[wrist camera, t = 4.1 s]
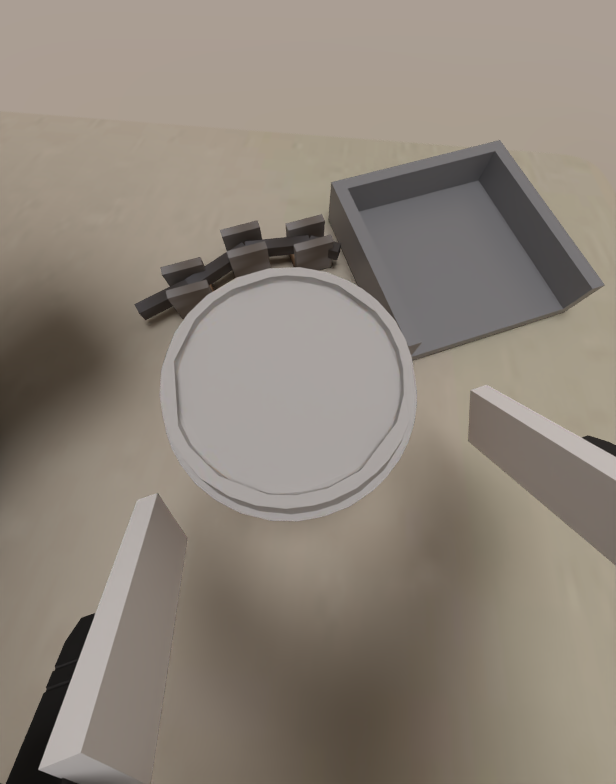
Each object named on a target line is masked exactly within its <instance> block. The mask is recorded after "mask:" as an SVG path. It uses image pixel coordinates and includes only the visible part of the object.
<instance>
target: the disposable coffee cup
mask: <svg viewBox="0 0 616 784" xmlns="http://www.w3.org/2000/svg"><path fill="white" fill-rule="evenodd" d="M160 401H161V407H162V414H163V420H164V423H165V428H166V434H167V436H168V439H169V442H170V445H171V448H172V450H173V452H174V454H175V456H176V457H177V459H178V461H179V463H180V465H181V466H182V467H183V469H184V470H185V471H186V472H187V474H188V475H189V476H190V478H191V479H192V480H193V481H194V483H195V484H196V485H198V486H199V487H200V488H201V489H202V490H204V491H205V492H206V493H207V494H209V495H210V496H211V497H212V498H214V499H215V500H216V501H218V502H220V503H222V504H224V505H226V506H228V507H230V508H231V509H233V510H235V511H237V512H239V513H241V514H246V515H250V516H254V517H258V518H262V519H266V520H270V521H302V520H308V519H313V518H318V517H323V516H326V515H329V514H332V513H334V512H337V511H339V510H342V509H344V508H347V507H349V506H351V505H353V504H354V503H355V502H357V501H358V500H360V499H361V498H363V497H364V496H366V495H367V494H369V493H370V492H372V491H373V490H374V489H375V488H376V487H377V486H378V485H379V484H380V483H381V482H382V481H383V480H384V479H385V478H386V477H387V476H388V475H389V473H390V472H391V470H392V469H393V468H394V466H395V465H396V464H397V462H398V461H399V459H400V458H401V456H402V454H403V452H404V450H405V448H406V445H407V443H408V441H409V438H410V435H411V432H412V429H413V425H414V422H415V414H416V406H417V389H416V380H415V374H414V369H413V362H412V357H411V354H410V351H409V348H408V345H407V342H406V340H405V338H404V336H403V334H402V332H401V330H400V329H399V327H398V325H397V323H396V321H395V320H394V319H393V317H392V316H391V315H390V314H389V313H388V312H387V311H386V310H385V308H384V307H383V306H382V305H381V304H380V303H379V302H378V301H377V300H376V299H375V298H374V297H372V296H371V295H370V294H368V293H367V292H366V291H365V290H363V289H362V288H360V287H359V286H357V285H355V284H353V283H352V282H350V281H348V280H346V279H343V278H340V277H338V276H335V275H333V274H330V273H328V272H323V271H318V270H312V269H307V268H301V267H293V268H269V269H265V270H262V271H258V272H255V273H251V274H248V275H244V276H241V277H237V278H235V279H233V280H232V281H230V282H228V283H227V284H225V285H223V286H221V287H220V288H218V289H216V290H215V291H213V292H211V293H210V294H208V295H207V296H206V297H205V298H204V299H203V300H202V301H200V302H199V303H198V304H197V305H196V306H195V307H194V308H193V309H192V310H191V311H190V312H189V313H188V314H187V316H186V317H185V319H184V320H183V321H182V323H181V324H180V326H179V327H178V329H177V330H176V332H175V333H174V336H173V338H172V340H171V343H170V345H169V348H168V350H167V353H166V356H165V359H164V362H163V366H162V369H161V383H160Z"/></svg>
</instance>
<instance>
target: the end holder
mask: <svg viewBox="0 0 616 784" xmlns="http://www.w3.org/2000/svg"><path fill="white" fill-rule="evenodd" d="M328 220H329V222H330V224H331V226H332V229H333V231H334V233H335V235H336V238H337V240H338V242H339V243H341V249H342V251H343V253H344V255H345V258H346V260H347V262H348V264H349V267H350V269H351V271H352V273H353V276H354V278H355V280H356V282H357V285H358V286H359V287H360V288H362V289H363V290H365V291H366V292H367V293H368V294H370V295H371V296H372V297H374V298H375V299H376V300H377V301H378V302H379V303H380V304H381V305H382V306H383V307H384V308H385V310H386V311H387V312H388V313H389V314H390V315H391V316H392V317H393V319H394V320H395V321H396V323H397V325H398V327H399V329H400V330H401V332H402V334H403V336H404V338H405V340H406V342H407V345H408V348H409V351H410V354H411V357H412V360H415V359H419V358H422V357H425V356H428V355H431V354H434V353H438V352H441V351H444V350H447V349H450V348H453V347H456V346H460V345H463V344H466V343H469V342H472V341H475V340H479V339H482V338H485V337H488V336H491V335H494V334H497V333H501V332H504V331H507V330H510V329H513V328H516V327H519V326H523V325H526V324H529V323H532V322H535V321H538V320H542V319H545V318H548V317H551V316H554V315H557V314H560V313H564V312H565V311H567V310H568V309H570V308H571V307H573V306H574V305H576V304H577V303H579V302H580V301H582V300H583V299H585V298H586V297H588V296H589V295H591V294H592V293H594V292H595V291H597V290H598V289H600V288H601V287H603V286H604V283H603V282H602V280H601V279H600V278H599V276H598V275H597V274H596V272H595V271H594V269H593V268H592V267H591V265H590V264H589V263H588V261H587V260H586V258H585V257H584V256H583V254H582V253H581V251H580V250H579V249H578V247H577V246H576V245H575V243H574V242H573V240H572V239H571V238H570V236H569V235H568V234H567V232H566V231H565V229H564V228H563V227H562V225H561V224H560V222H559V221H558V220H557V218H556V217H555V216H554V214H553V213H552V211H551V210H550V209H549V207H548V206H547V205H546V203H545V202H544V200H543V199H542V198H541V196H540V195H539V193H538V192H537V191H536V189H535V188H534V187H533V185H532V184H531V182H530V181H529V180H528V178H527V177H526V176H525V174H524V173H523V171H522V170H521V169H520V167H519V166H518V164H517V163H516V162H515V160H514V159H513V158H512V156H511V155H510V153H509V152H508V151H507V149H506V148H505V147H504V145H503V144H502V143H501V141H500V140H499V141H495V142H491V143H487V144H483V145H479V146H475V147H471V148H467V149H463V150H459V151H455V152H451V153H447V154H443V155H439V156H435V157H431V158H427V159H423V160H419V161H415V162H411V163H407V164H403V165H399V166H395V167H391V168H387V169H383V170H379V171H375V172H371V173H367V174H363V175H359V176H355V177H351V178H347V179H343V180H339V181H335V182H331V194H330V206H329V219H328Z"/></svg>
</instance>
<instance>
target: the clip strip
mask: <svg viewBox="0 0 616 784" xmlns="http://www.w3.org/2000/svg"><path fill="white" fill-rule="evenodd" d="M324 224H325V220H324V218H323V216H322V214H321V215H317V216H313V217H310V218H306V219H302V220H298V221H294V222H290V223H287V224H286V236H287V237H284V238H274V239H264V240H262V237H261V231H260V226H259V224H258V221H253V222H250V223H246V224H242V225H238V226H234V227H230V228H226V229H222V230H220V232H221V235H222V238H223V241H224V244H225V247H226V250H227V252H226V253H225V254H223V255H222V256H220V257H219V258H217V259H215V260H214V261H212V262H211V263H209V264H208V265H206V266H204V264H203V262H202V260H201V258H200V257H198V258H195V259H191V260H187V261H183V262H179V263H176V264H172V265H168V266H164V267H160V268H161V272H162V276H163V277H164V278H165V280H166V281H167V283H168V284H169V286H170V287H168V288H166V289H164V290H162V291H160V292H158V293H156V294H154V295H152V296H150V297H148V298H146V299H144V300H142V301H140V302H138V303H136V304H134V305H135V306H136V308H137V310H138V312H139V314H140V315H141V316H142V317H143V318H144V319H145V320H147V319H148V318H150V317H152V316H154V315H156V314H158V313H160V312H162V311H164V310H166V309H168V308H170V307H172V306H173V307H174V308H175V309H176V311H177V312H178V313H179V315H180V316H181V317H182V319H185V317H186V316H187V314H188V313H189V312H190V311H191V310H192V309H193V308H194V307H195V306H196V305H197V304H198V303H199V302H200V301H202V300H203V299H204V298H205V297H206V296H207V295H208V294H210V293H211V292H213V291H214V288H213V284H212V283H213V282H215V281H216V280H218V279H219V278H221V277H222V276H224V275H225V274H227V273H228V272H230V271H232V270H233V272H234V275H235V278H237V277H241V276H244V275H248V274H251V273H255V272H258V271H262V270H265V269H269V268H271V267H270V261H269V257H271V256H280V255H290V258H291V260H292V263H293V265H294V267H301V268H307V269H312V270H321V269H325V268H329V267H331V263H332V259H333V260H337V258H338V256H339V253H340V248H341V243H338V242H334V241H333V239H332V236H331V235H327V236H324Z"/></svg>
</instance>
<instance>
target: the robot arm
mask: <svg viewBox="0 0 616 784" xmlns="http://www.w3.org/2000/svg"><path fill="white" fill-rule="evenodd" d="M468 441H469V442H470V443H471V444H472V445H473V446H475V447H476V448H477V449H478V450H479V451H480V452H482V453H483V454H484V455H485V456H486V457H488V458H489V459H490V460H491V461H492V462H494V463H495V464H496V465H497V466H498V467H499V468H501V469H502V470H503V471H504V472H505V473H507V474H508V475H509V476H510V477H511V478H512V479H514V480H515V481H516V482H517V483H518V484H520V485H521V486H522V487H523V488H524V489H526V490H527V491H528V492H529V493H530V494H531V495H533V496H534V497H535V498H536V499H537V500H539V501H540V502H541V503H542V504H543V505H545V506H546V507H547V508H548V509H549V510H550V511H552V512H553V513H554V514H555V515H556V516H558V517H559V518H560V519H561V520H562V521H563V522H565V523H566V524H567V525H568V526H569V527H571V528H572V529H573V530H574V531H575V532H577V533H578V534H579V535H580V536H581V537H582V538H584V539H585V540H586V541H587V542H588V543H590V544H591V545H592V546H593V547H594V548H595V549H597V550H598V551H599V552H600V553H601V554H603V555H604V556H605V557H606V558H607V559H609V560H610V561H611V562H612V563H613V564H614V565H616V445H614V444H612V443H610V442H607V441H604V440H601V439H598V438H595V437H591V436H585V437H582V438H581V437H579V436H577V435H576V434H574V433H572V432H570V431H568V430H567V429H565V428H563V427H561V426H560V425H558V424H556V423H554V422H552V421H551V420H549V419H547V418H545V417H544V416H542V415H540V414H538V413H536V412H535V411H533V410H531V409H529V408H527V407H526V406H524V405H522V404H520V403H519V402H517V401H515V400H513V399H511V398H510V397H508V396H506V395H504V394H502V393H501V392H499V391H497V390H495V389H494V388H492V387H490V386H488V385H484V386H481V387H478V388H475V389H472V390H470V410H469V432H468ZM186 545H187V536H186V535H185V533H184V532H183V530H182V529H181V527H180V526H179V524H178V523H177V521H176V520H175V518H174V517H173V515H172V514H171V512H170V511H169V509H168V508H167V506H166V505H165V503H164V502H163V500H162V499H161V497H160V496H159V494H158V493H156V494H153V495H150V496H147V497H144V498H141V499H138V500H137V502H136V505H135V507H134V510H133V513H132V515H131V518H130V521H129V524H128V526H127V529H126V532H125V535H124V537H123V540H122V543H121V545H120V548H119V551H118V554H117V556H116V559H115V562H114V564H113V567H112V570H111V573H110V575H109V578H108V581H107V584H106V586H105V589H104V592H103V594H102V597H101V600H100V603H99V605H98V608H97V611H96V613H94V614H91V615H88V616H86V617H83V618H81V619H80V621H79V622H78V624H77V625H76V627H75V628H74V629H73V631H72V632H71V634H70V635H69V637H68V638H67V640H66V641H65V643H64V646H63V648H62V651H61V653H60V655H59V658H58V660H57V663H56V665H55V671H53V672H52V674H51V677H50V679H49V682H48V684H47V686H46V688H47V690H46V692H45V693H44V694H43V696H42V698H41V701H40V703H39V706H38V708H37V710H36V713H35V715H34V718H33V720H32V722H31V725H30V727H29V730H28V732H27V734H26V737H25V739H24V742H23V744H22V746H21V749H20V751H19V754H18V756H17V758H16V761H15V763H14V766H13V768H12V770H11V773H10V775H9V778H8V780H7V782H6V784H151V778H152V772H153V765H154V758H155V752H156V745H157V738H158V732H159V725H160V718H161V712H162V705H163V698H164V692H165V685H166V678H167V672H168V665H169V658H170V652H171V645H172V638H173V632H174V625H175V618H176V612H177V605H178V598H179V592H180V585H181V578H182V572H183V565H184V558H185V552H186ZM0 784H1V783H0Z"/></svg>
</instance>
